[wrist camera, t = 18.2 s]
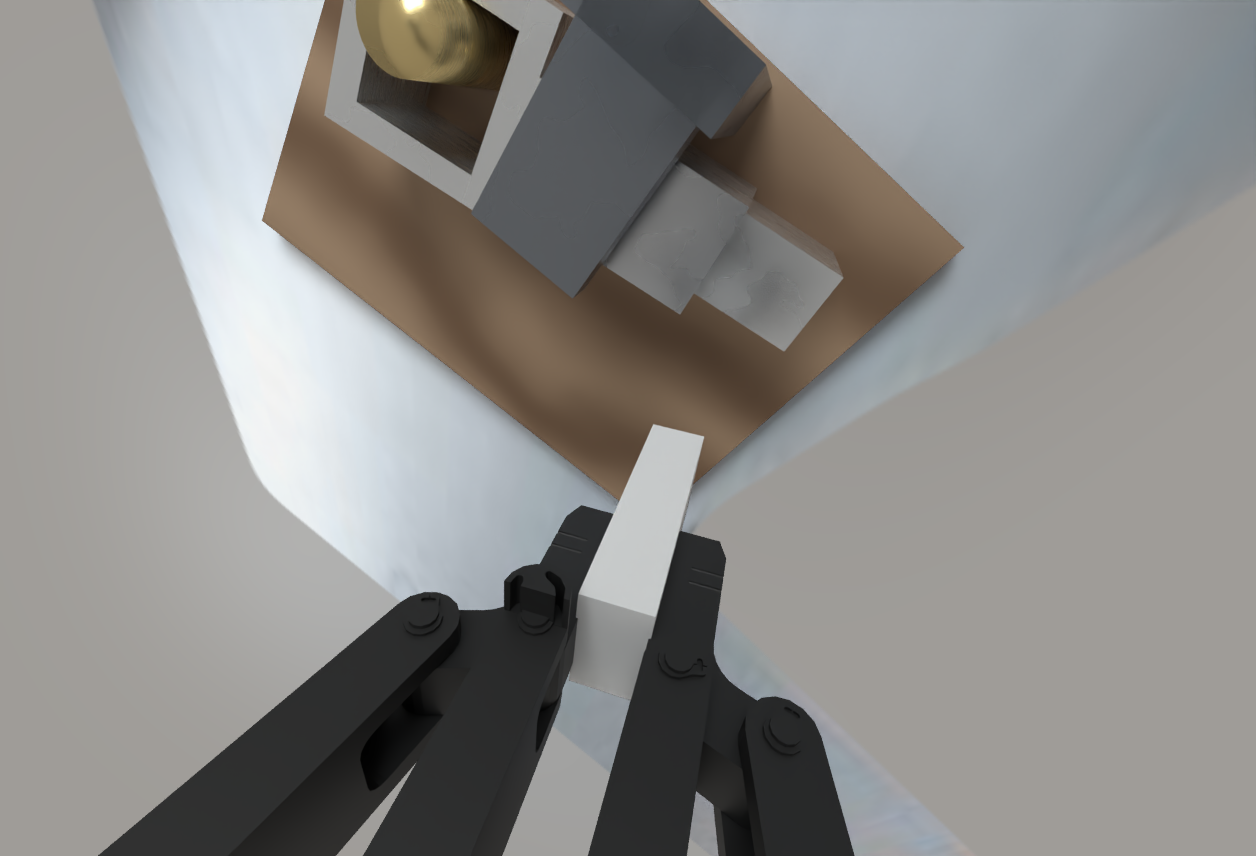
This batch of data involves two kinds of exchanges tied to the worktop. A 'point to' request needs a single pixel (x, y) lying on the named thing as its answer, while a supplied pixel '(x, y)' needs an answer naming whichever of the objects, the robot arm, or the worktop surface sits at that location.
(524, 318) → the board
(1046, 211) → the worktop surface
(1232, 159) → the worktop surface
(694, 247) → the link
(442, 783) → the robot arm
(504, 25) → the brass rounded cylinder
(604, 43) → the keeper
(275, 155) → the worktop surface
